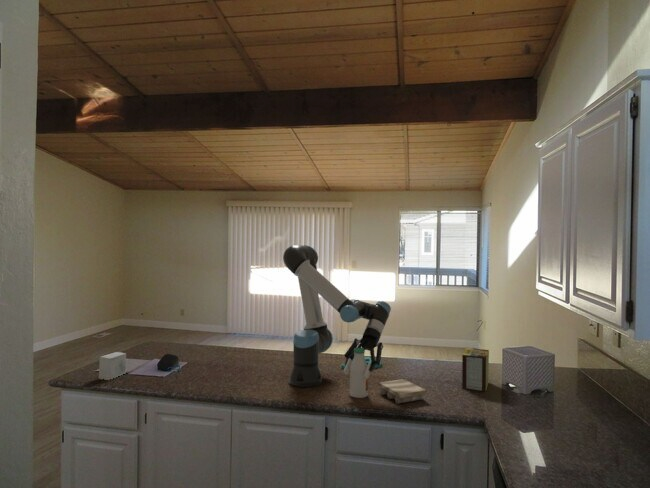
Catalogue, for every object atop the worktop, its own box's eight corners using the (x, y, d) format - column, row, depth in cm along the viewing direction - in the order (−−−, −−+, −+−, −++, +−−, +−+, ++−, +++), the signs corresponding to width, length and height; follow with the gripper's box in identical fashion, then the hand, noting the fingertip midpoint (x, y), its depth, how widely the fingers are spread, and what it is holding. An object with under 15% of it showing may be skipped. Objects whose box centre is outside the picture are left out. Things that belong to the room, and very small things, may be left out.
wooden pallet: (378, 393, 186) (378, 382, 187) (403, 389, 192) (403, 379, 192) (400, 405, 172) (400, 394, 172) (426, 400, 178) (426, 390, 178)
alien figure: (341, 369, 223) (379, 372, 219) (341, 365, 223) (379, 368, 219) (346, 359, 242) (382, 362, 238) (347, 355, 242) (382, 358, 238)
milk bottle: (362, 399, 178) (363, 351, 178) (346, 396, 182) (347, 349, 182) (370, 394, 184) (371, 348, 185) (354, 391, 189) (355, 345, 189)
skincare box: (109, 380, 198) (109, 358, 198) (98, 379, 200) (98, 356, 200) (126, 374, 208) (126, 352, 208) (115, 372, 210) (116, 351, 210)
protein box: (488, 382, 204) (489, 349, 204) (486, 392, 190) (486, 357, 190) (465, 379, 208) (466, 347, 208) (461, 388, 194) (462, 354, 194)
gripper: (398, 339, 190) (381, 385, 177) (355, 333, 202) (336, 375, 189) (393, 329, 185) (375, 375, 172) (349, 323, 198) (330, 365, 185)
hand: (355, 375), depth 181 cm, fingers open, 9 cm apart
